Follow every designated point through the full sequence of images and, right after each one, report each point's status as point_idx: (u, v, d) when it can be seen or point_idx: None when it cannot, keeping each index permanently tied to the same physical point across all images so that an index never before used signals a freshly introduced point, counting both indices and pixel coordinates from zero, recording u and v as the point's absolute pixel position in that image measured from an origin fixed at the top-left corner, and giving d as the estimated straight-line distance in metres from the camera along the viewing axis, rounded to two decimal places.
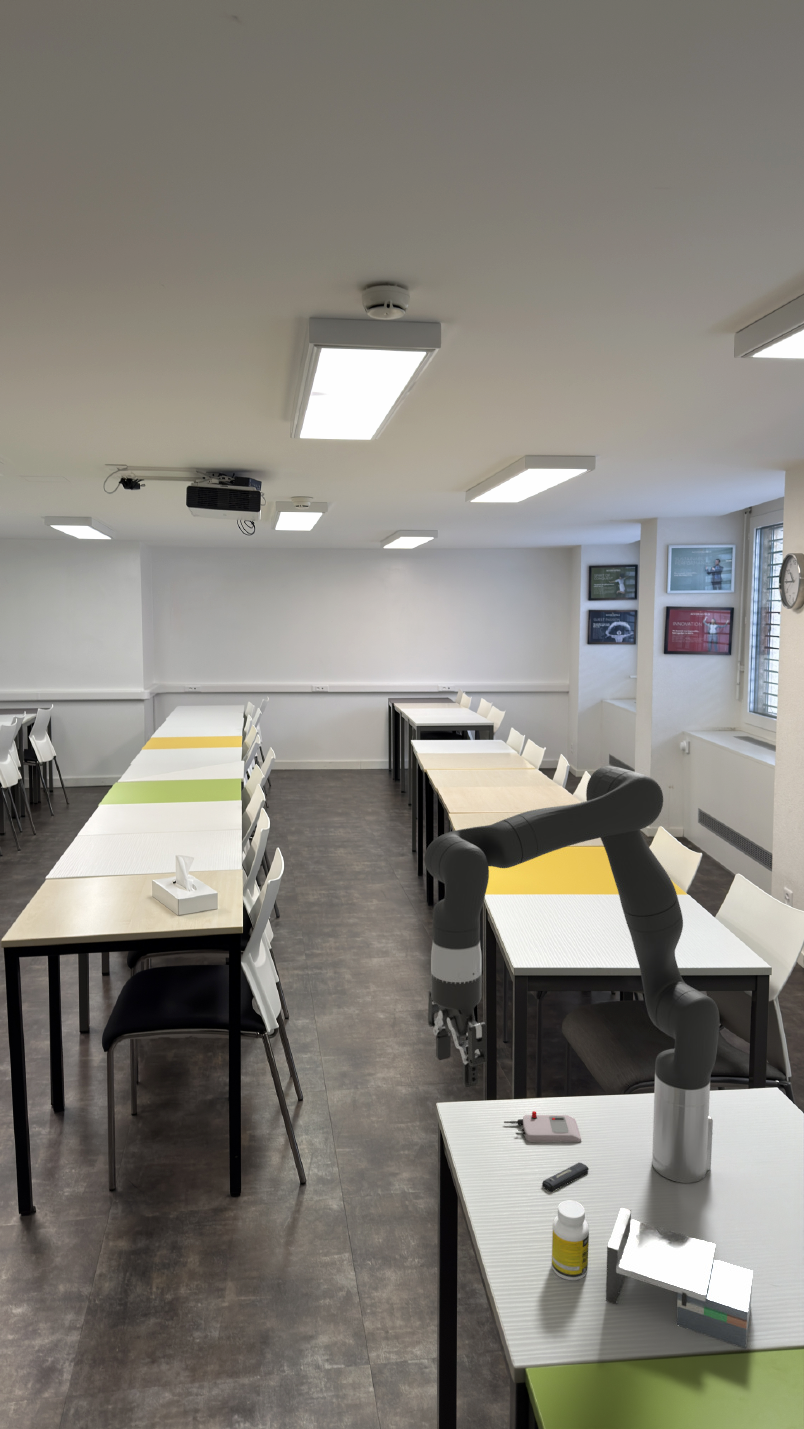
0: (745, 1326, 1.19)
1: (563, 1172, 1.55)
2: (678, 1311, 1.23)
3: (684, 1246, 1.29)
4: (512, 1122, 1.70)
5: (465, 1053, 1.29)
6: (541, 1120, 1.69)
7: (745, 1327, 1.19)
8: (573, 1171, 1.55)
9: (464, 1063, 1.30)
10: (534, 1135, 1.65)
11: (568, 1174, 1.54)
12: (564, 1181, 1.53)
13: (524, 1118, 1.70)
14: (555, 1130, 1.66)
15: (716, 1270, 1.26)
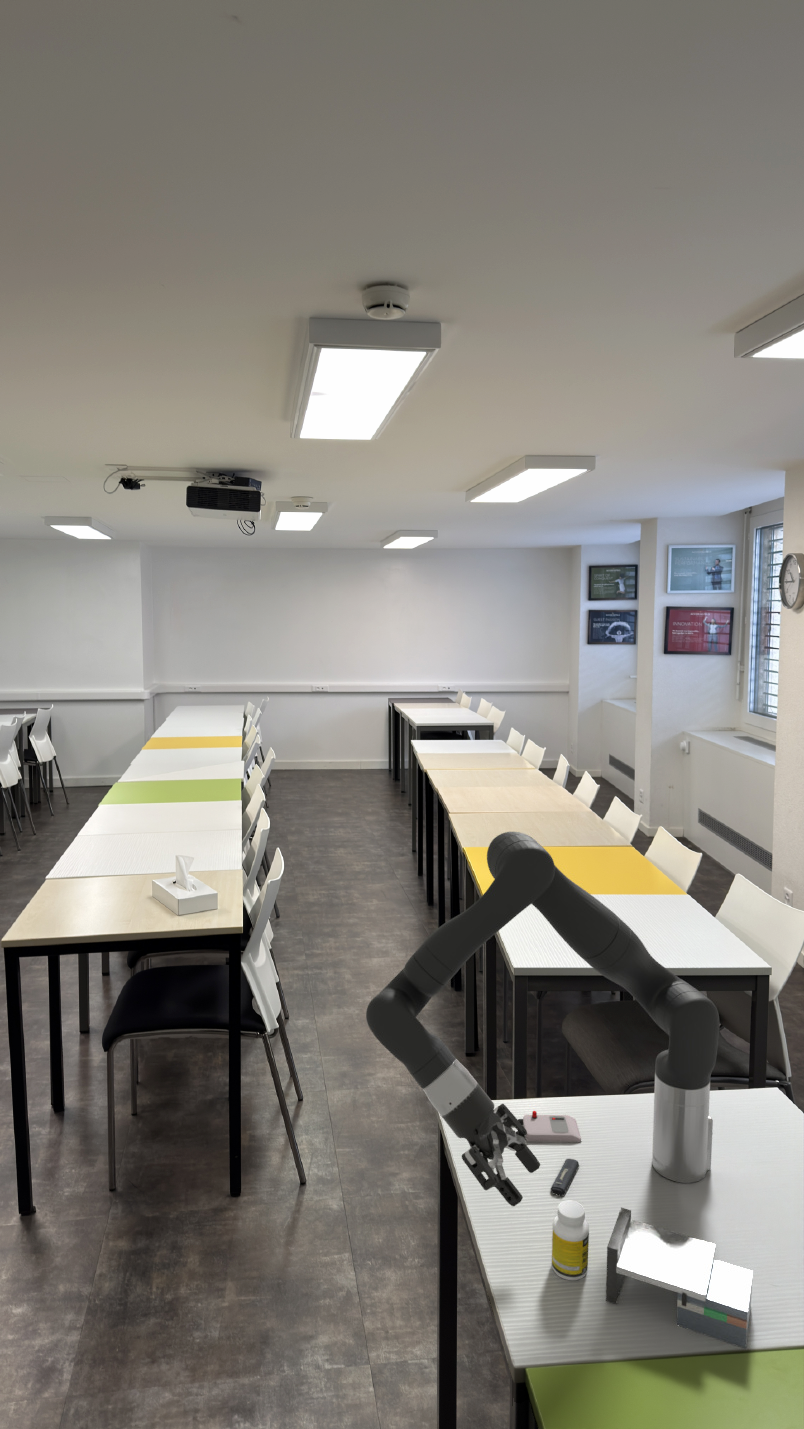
0: (745, 1326, 1.19)
1: (562, 1173, 1.55)
2: (678, 1311, 1.23)
3: (684, 1246, 1.29)
4: None
5: (488, 1176, 1.33)
6: (541, 1120, 1.70)
7: (745, 1327, 1.19)
8: (570, 1169, 1.56)
9: None
10: (534, 1135, 1.65)
11: (568, 1173, 1.54)
12: (569, 1181, 1.53)
13: (524, 1118, 1.70)
14: (555, 1129, 1.66)
15: (716, 1270, 1.26)
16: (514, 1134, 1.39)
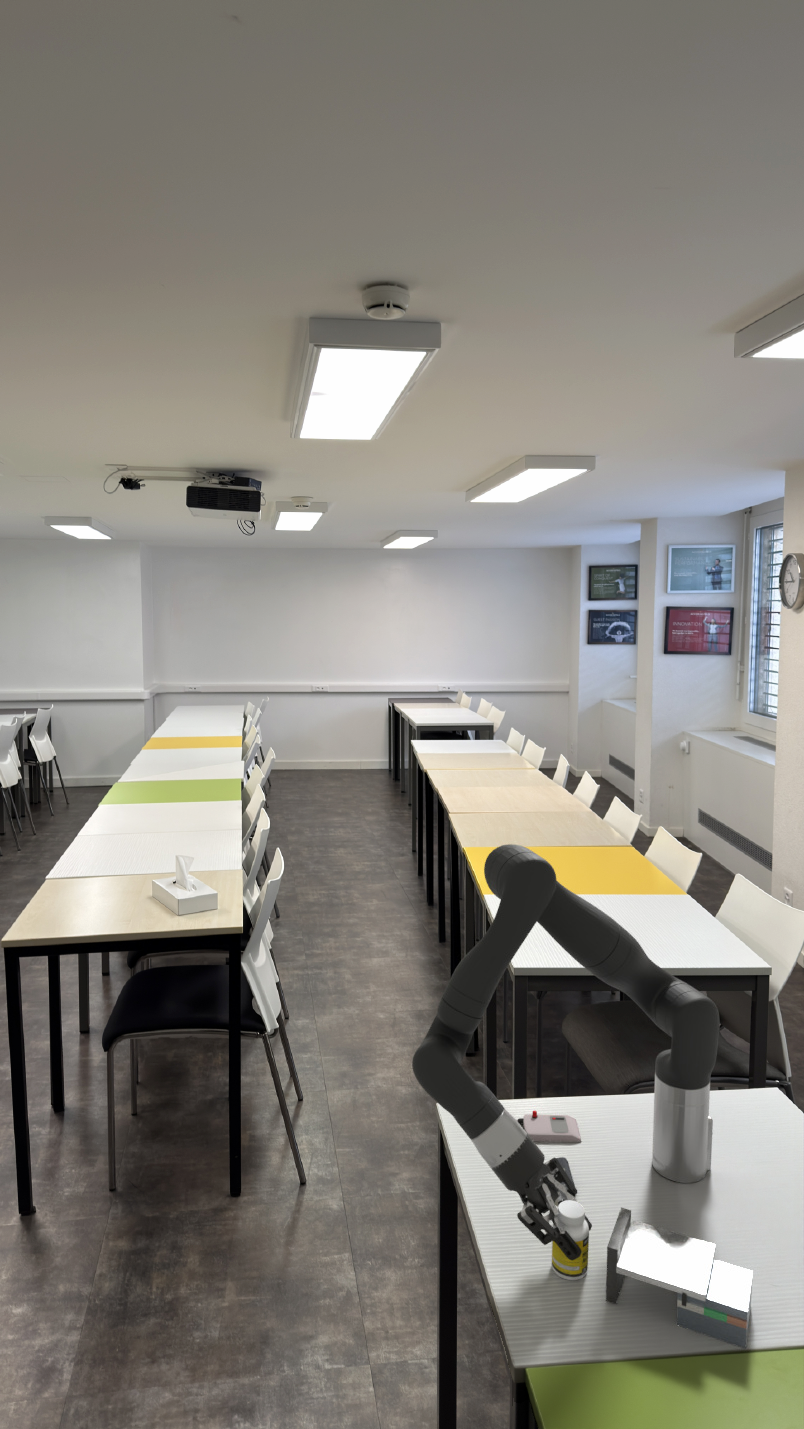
0: (745, 1326, 1.19)
1: None
2: (678, 1311, 1.23)
3: (684, 1246, 1.29)
4: None
5: (545, 1231, 1.31)
6: (541, 1119, 1.70)
7: (745, 1327, 1.19)
8: (565, 1167, 1.56)
9: None
10: (533, 1135, 1.65)
11: (567, 1172, 1.55)
12: (572, 1180, 1.53)
13: (524, 1117, 1.71)
14: (555, 1129, 1.66)
15: (716, 1270, 1.26)
16: (564, 1190, 1.36)
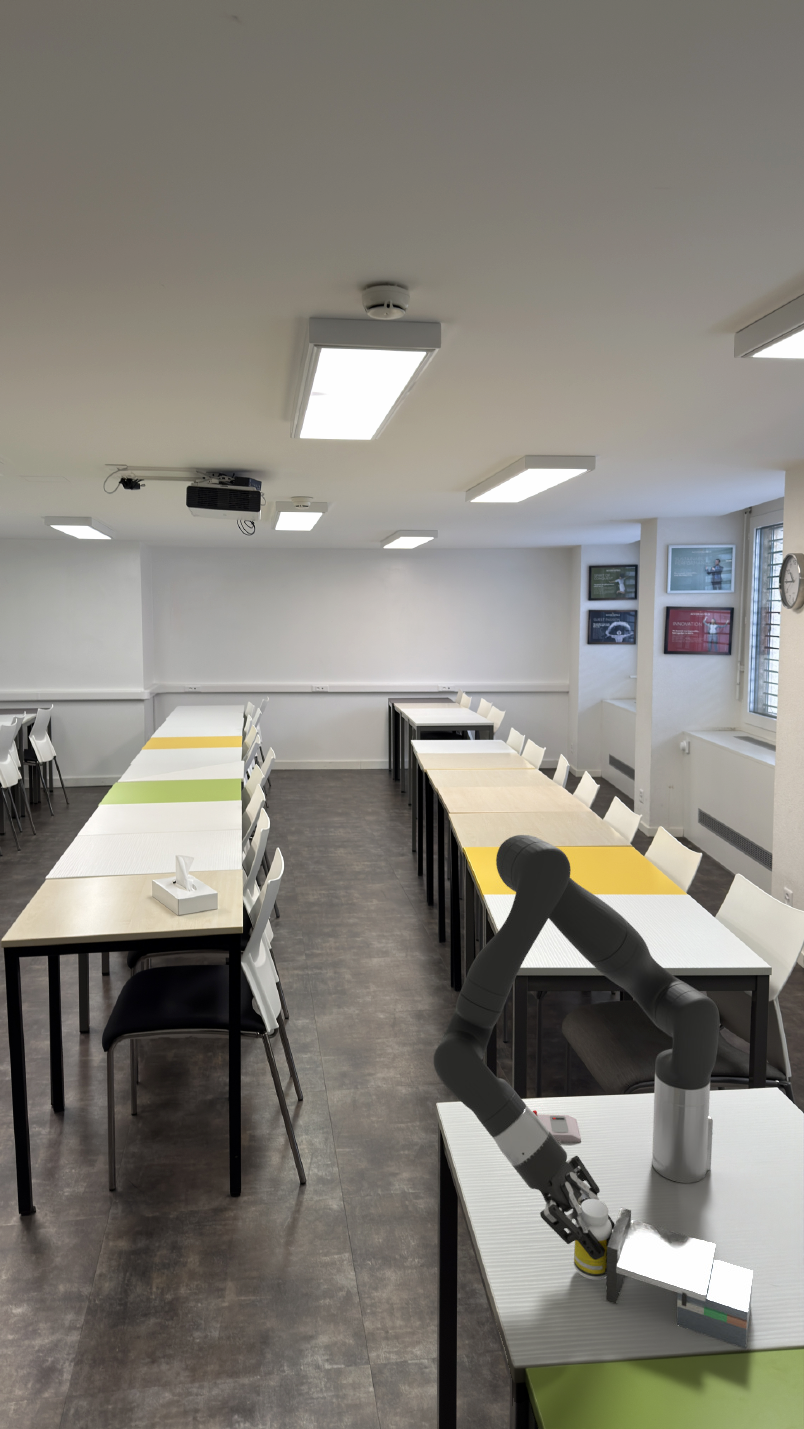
0: (745, 1326, 1.19)
1: None
2: (678, 1311, 1.23)
3: (684, 1246, 1.29)
4: None
5: (568, 1230, 1.29)
6: (541, 1119, 1.70)
7: (745, 1327, 1.19)
8: None
9: None
10: None
11: None
12: None
13: None
14: (555, 1129, 1.67)
15: (716, 1270, 1.26)
16: (587, 1189, 1.34)
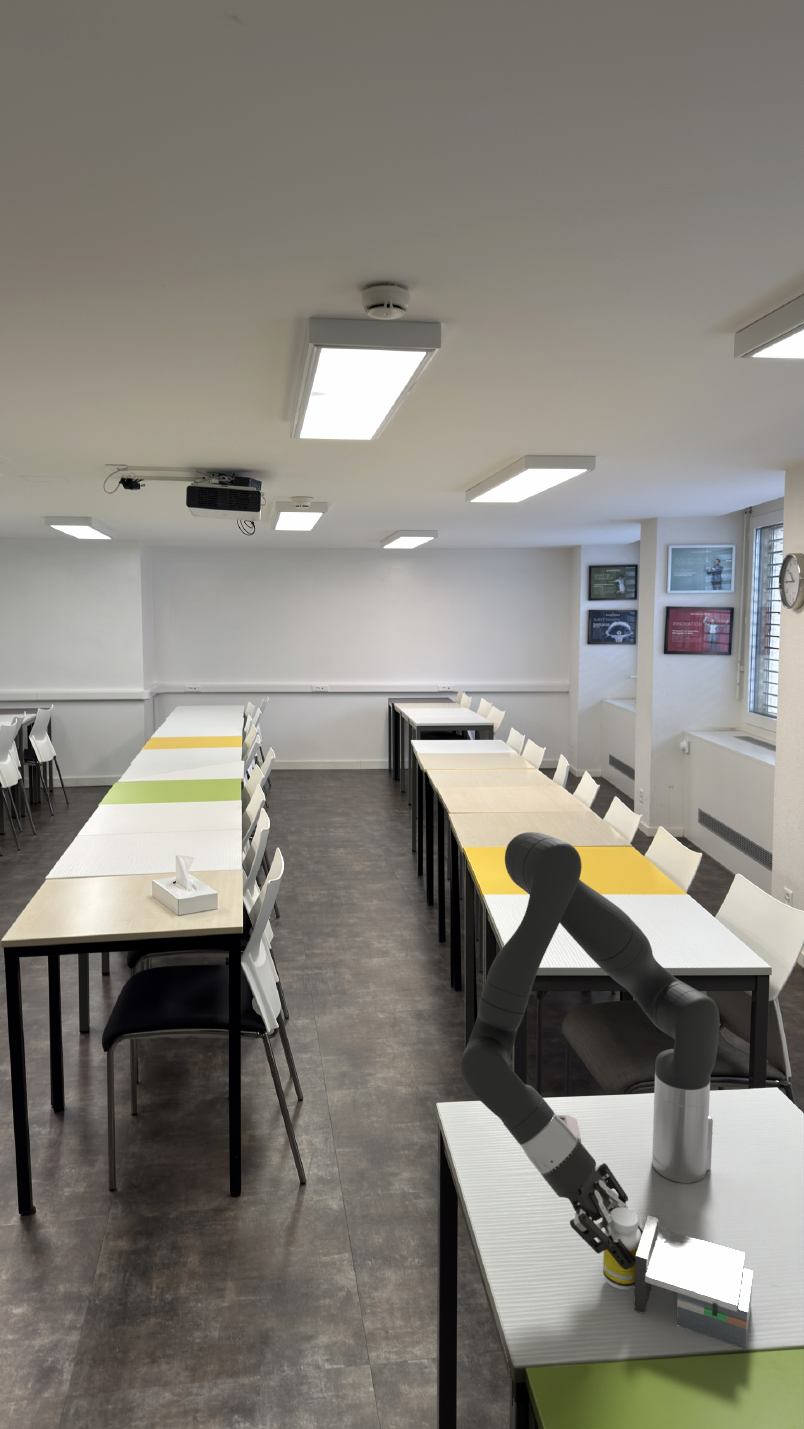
0: (745, 1326, 1.19)
1: None
2: (678, 1311, 1.23)
3: (713, 1255, 1.27)
4: None
5: (598, 1239, 1.28)
6: None
7: (745, 1327, 1.19)
8: None
9: None
10: None
11: None
12: None
13: None
14: None
15: None
16: (616, 1197, 1.32)
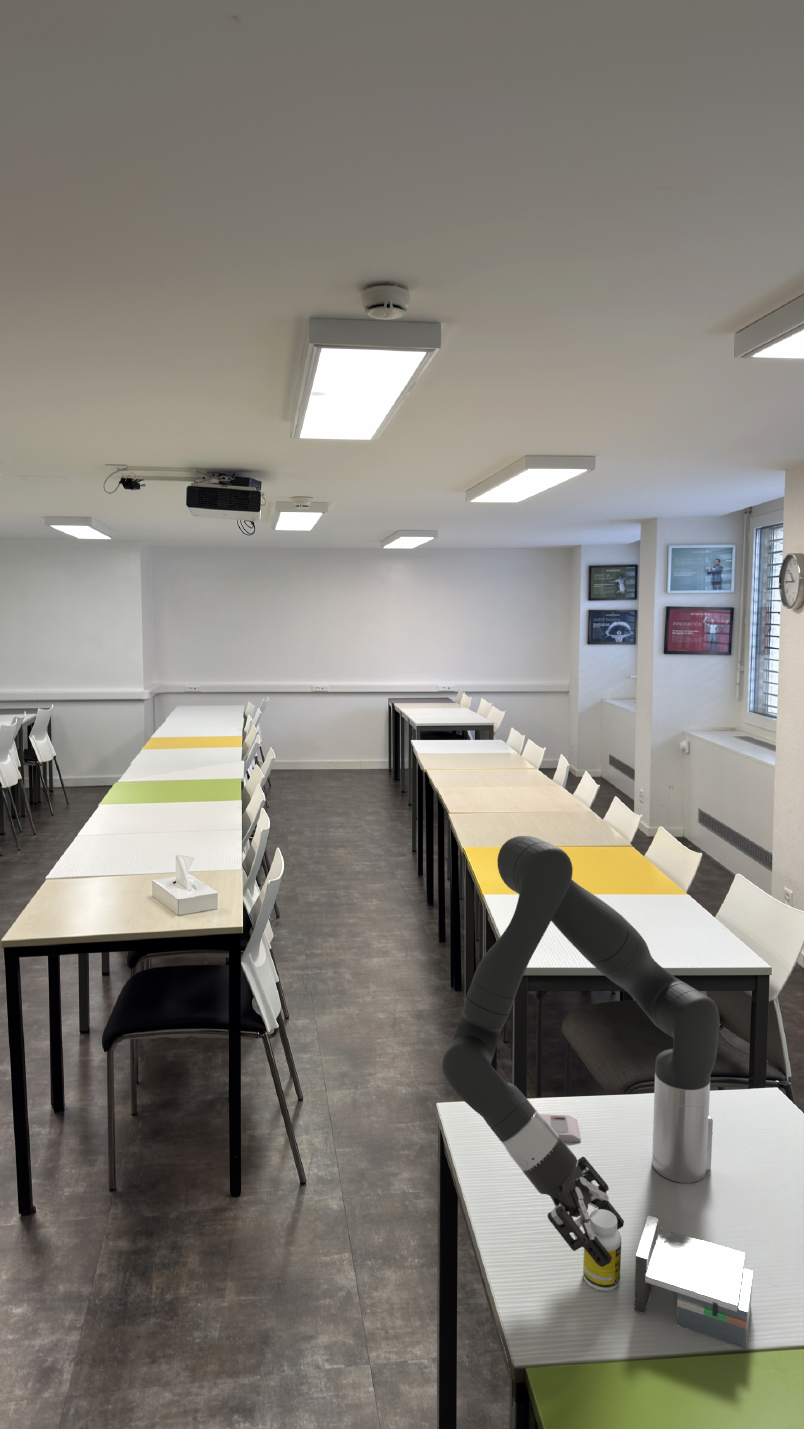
0: (745, 1326, 1.19)
1: None
2: (678, 1311, 1.23)
3: (713, 1255, 1.27)
4: None
5: (575, 1235, 1.28)
6: None
7: (745, 1327, 1.19)
8: None
9: None
10: None
11: None
12: None
13: None
14: (555, 1129, 1.67)
15: None
16: (597, 1190, 1.34)
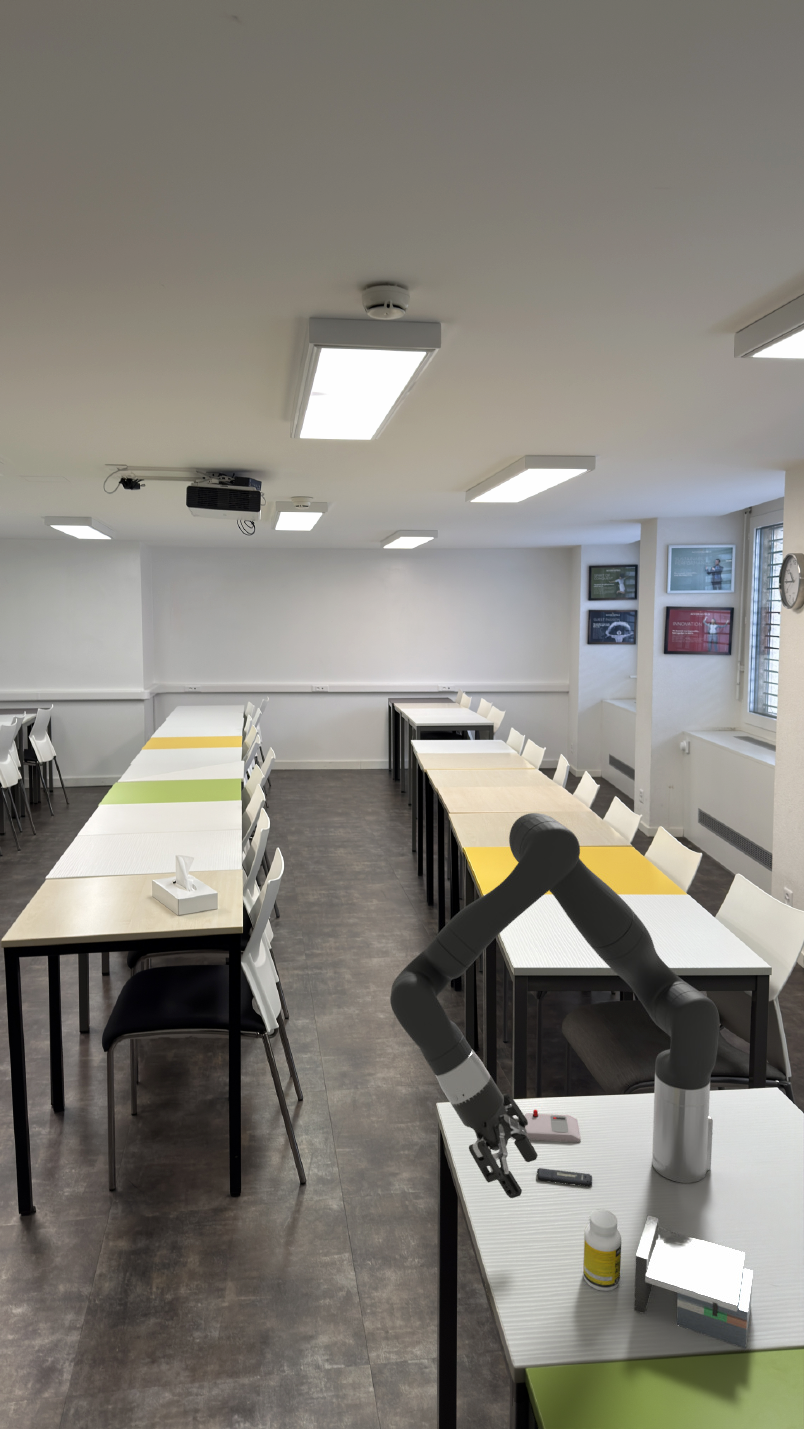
0: (745, 1326, 1.19)
1: (565, 1175, 1.54)
2: (678, 1311, 1.23)
3: (713, 1255, 1.27)
4: None
5: (491, 1167, 1.35)
6: (542, 1119, 1.70)
7: (745, 1327, 1.19)
8: (556, 1171, 1.55)
9: None
10: (533, 1134, 1.66)
11: (563, 1171, 1.55)
12: None
13: (525, 1116, 1.71)
14: (555, 1129, 1.67)
15: None
16: (517, 1126, 1.41)
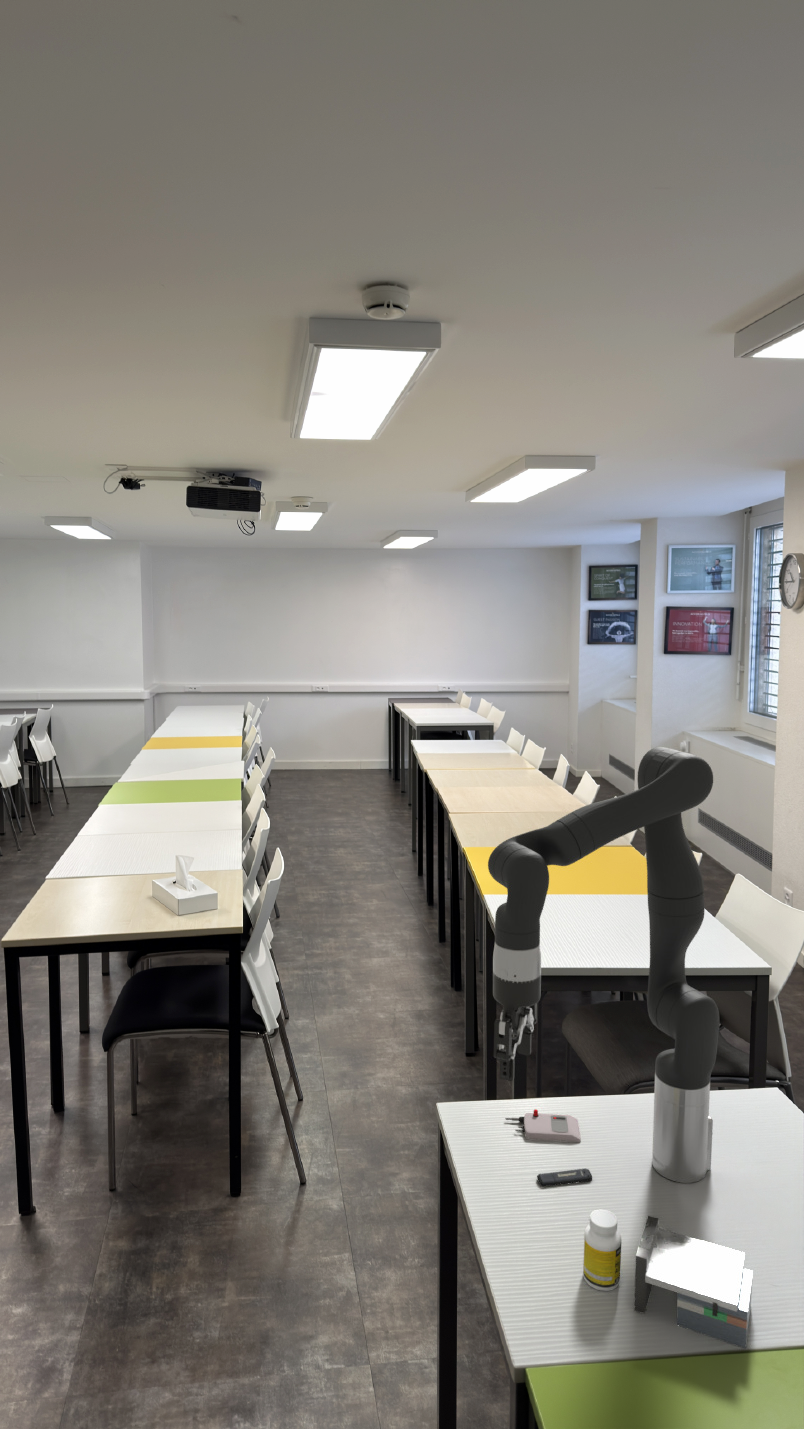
0: (745, 1326, 1.19)
1: (565, 1175, 1.54)
2: (678, 1311, 1.23)
3: (713, 1255, 1.27)
4: (513, 1119, 1.71)
5: (499, 1045, 1.38)
6: (542, 1118, 1.70)
7: (745, 1327, 1.19)
8: (555, 1173, 1.55)
9: None
10: (533, 1133, 1.66)
11: (562, 1172, 1.55)
12: None
13: (525, 1116, 1.71)
14: (555, 1129, 1.67)
15: None
16: (532, 1022, 1.43)
